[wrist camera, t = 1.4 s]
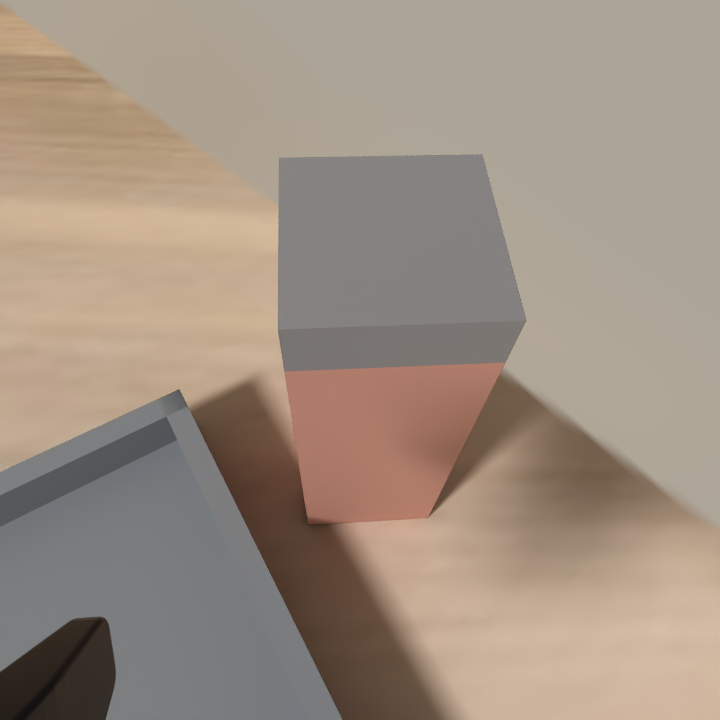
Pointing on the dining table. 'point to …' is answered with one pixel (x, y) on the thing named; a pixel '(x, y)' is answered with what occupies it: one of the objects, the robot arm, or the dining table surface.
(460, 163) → the pink and gray block
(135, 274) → the dining table surface
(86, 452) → the tray
